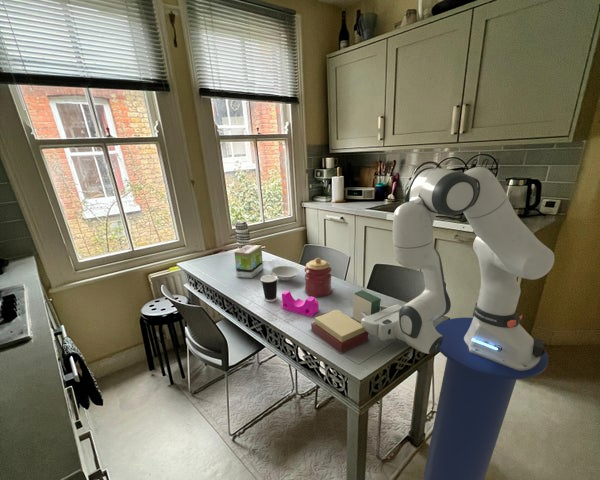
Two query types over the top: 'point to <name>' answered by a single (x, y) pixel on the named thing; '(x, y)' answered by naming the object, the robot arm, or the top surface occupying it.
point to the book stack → (339, 330)
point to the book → (365, 304)
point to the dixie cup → (269, 287)
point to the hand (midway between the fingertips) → (370, 310)
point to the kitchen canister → (318, 278)
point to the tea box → (248, 261)
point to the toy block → (300, 304)
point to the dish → (285, 272)
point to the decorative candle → (242, 234)
